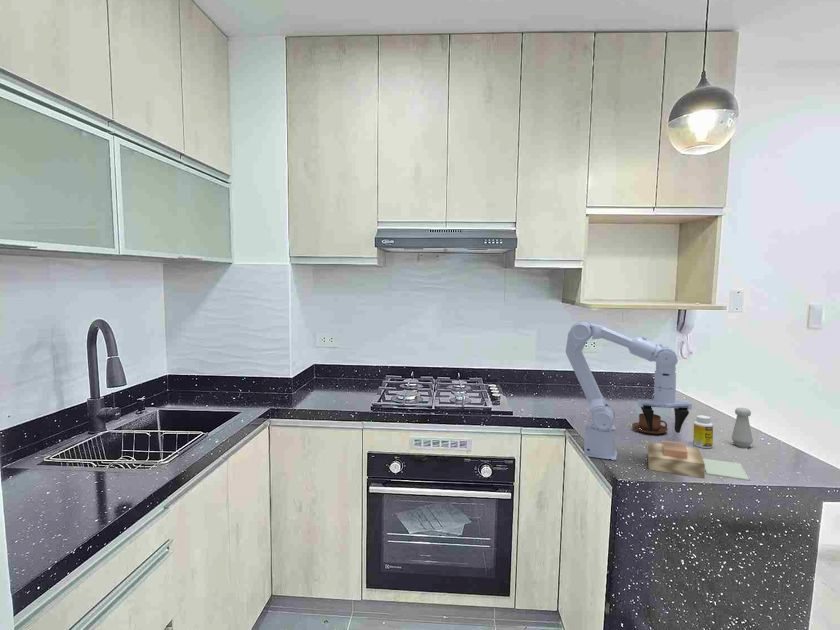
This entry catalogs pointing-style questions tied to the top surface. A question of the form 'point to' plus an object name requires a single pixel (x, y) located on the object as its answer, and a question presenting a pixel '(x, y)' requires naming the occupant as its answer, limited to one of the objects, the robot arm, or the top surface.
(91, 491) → the top surface
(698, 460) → the oak board
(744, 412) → the salt shaker
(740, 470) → the sage mat
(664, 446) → the terracotta tile
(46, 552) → the top surface
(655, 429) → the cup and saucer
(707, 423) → the supplement bottle
